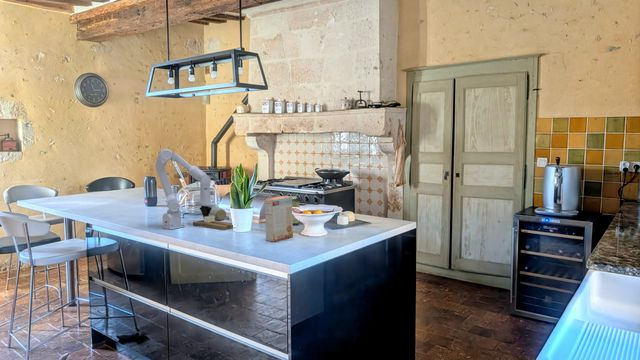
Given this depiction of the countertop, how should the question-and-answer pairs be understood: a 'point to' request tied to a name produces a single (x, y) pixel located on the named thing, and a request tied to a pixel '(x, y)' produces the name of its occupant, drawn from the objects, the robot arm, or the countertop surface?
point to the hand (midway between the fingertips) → (206, 219)
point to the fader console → (214, 225)
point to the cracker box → (278, 218)
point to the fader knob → (209, 218)
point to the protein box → (295, 204)
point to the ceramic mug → (218, 213)
